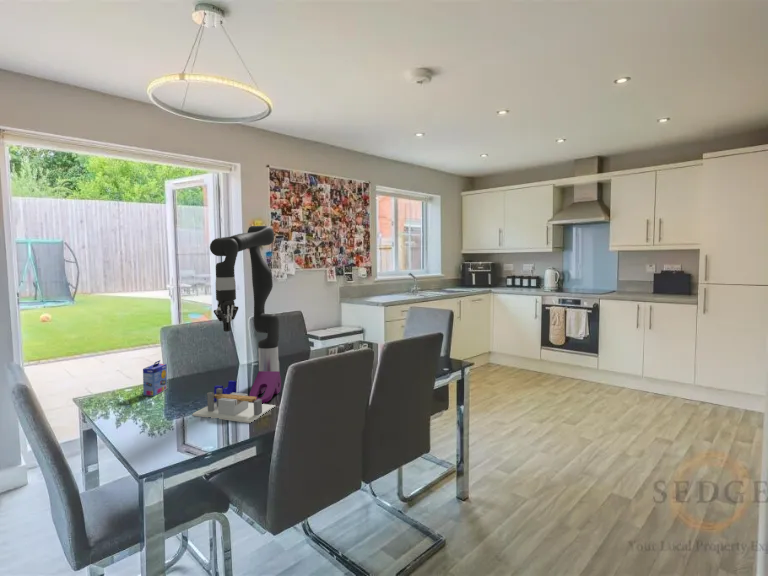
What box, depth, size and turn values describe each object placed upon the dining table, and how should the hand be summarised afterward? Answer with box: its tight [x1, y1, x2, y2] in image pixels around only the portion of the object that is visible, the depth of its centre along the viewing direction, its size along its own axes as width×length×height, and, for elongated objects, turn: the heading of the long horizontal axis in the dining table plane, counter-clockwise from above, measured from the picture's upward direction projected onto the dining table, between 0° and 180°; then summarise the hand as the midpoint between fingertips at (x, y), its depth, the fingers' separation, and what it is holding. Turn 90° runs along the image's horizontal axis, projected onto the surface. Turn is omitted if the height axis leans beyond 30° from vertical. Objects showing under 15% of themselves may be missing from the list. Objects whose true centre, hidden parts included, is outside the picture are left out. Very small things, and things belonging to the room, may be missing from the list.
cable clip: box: [213, 380, 237, 402], centre depth 182 cm, size 12×4×6 cm, turn 168°
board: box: [192, 388, 276, 424], centre depth 167 cm, size 17×26×8 cm, turn 73°
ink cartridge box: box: [142, 360, 168, 397], centre depth 190 cm, size 10×6×14 cm, turn 175°
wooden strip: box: [214, 393, 256, 403], centre depth 165 cm, size 19×3×1 cm, turn 73°
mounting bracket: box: [248, 370, 282, 404], centre depth 185 cm, size 9×8×18 cm
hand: (227, 331), depth 171 cm, fingers closed
